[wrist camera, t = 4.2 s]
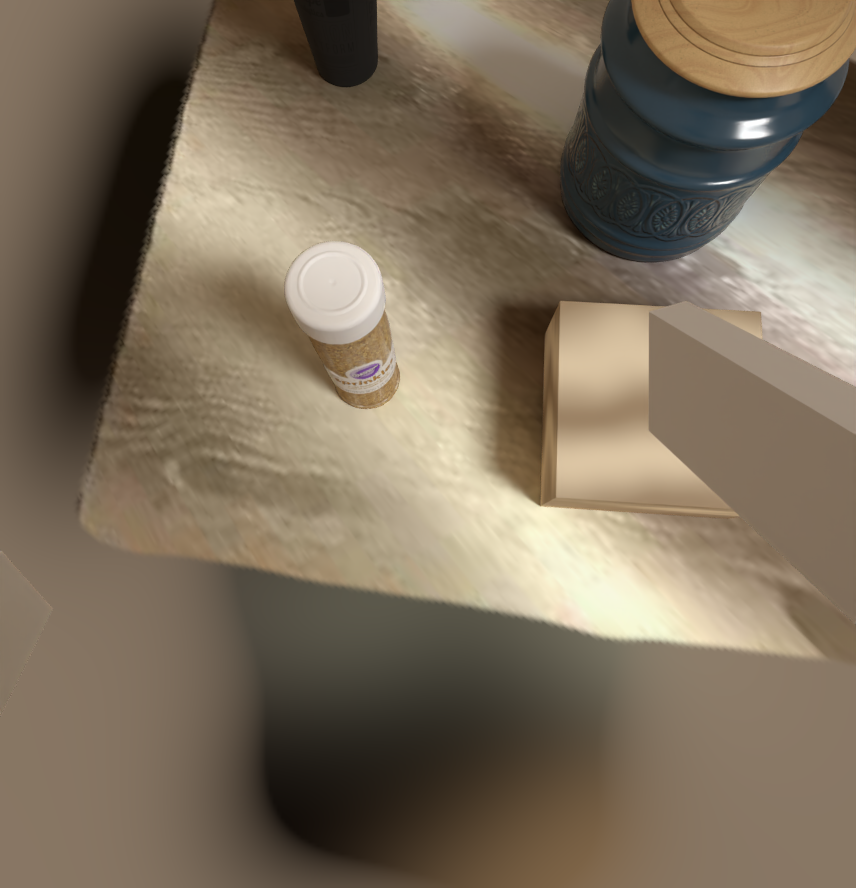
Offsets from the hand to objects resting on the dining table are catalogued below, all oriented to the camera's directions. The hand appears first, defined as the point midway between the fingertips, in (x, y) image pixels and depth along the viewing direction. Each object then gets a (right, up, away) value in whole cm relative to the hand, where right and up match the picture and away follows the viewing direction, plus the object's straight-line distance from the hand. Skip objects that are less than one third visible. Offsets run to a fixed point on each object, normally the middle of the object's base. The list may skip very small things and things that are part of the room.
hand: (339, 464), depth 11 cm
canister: (+18, +19, +30) cm, 40 cm away
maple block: (+15, +2, +26) cm, 31 cm away
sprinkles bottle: (-2, +5, +28) cm, 28 cm away
